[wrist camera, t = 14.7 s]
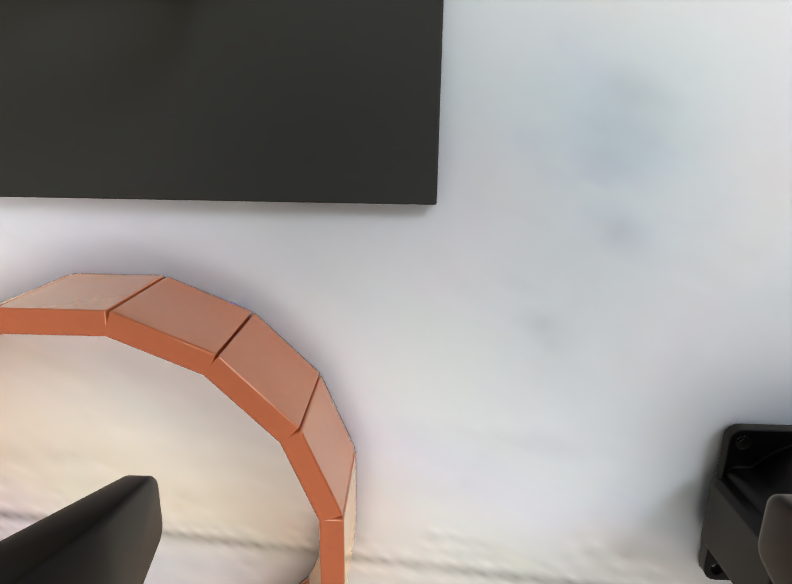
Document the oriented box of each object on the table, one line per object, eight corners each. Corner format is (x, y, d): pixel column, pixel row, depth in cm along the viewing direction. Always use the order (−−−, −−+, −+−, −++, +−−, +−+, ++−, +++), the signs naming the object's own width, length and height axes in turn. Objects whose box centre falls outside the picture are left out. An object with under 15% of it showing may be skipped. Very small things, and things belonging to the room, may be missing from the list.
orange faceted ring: (355, 279, 20) (341, 315, 16) (357, 655, 25) (346, 753, 21) (-113, 269, 20) (-236, 302, 17) (-25, 640, 25) (-105, 734, 21)
